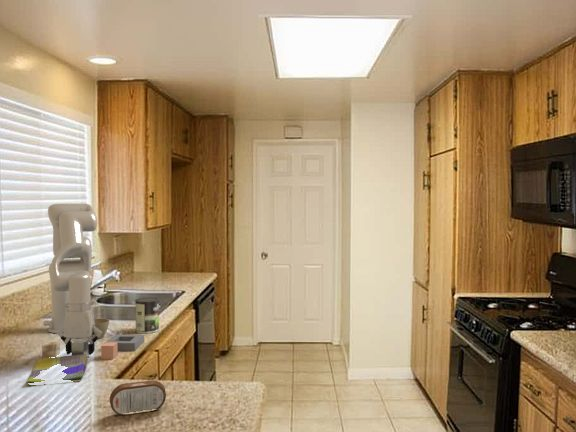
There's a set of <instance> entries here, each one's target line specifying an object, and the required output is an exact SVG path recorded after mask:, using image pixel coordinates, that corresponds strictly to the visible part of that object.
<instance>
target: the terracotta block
mask: <svg viewBox="0 0 576 432" xmlns="http://www.w3.org/2000/svg"><path fill="white" fill-rule="evenodd" d="M105 342H106V341H105ZM105 342H104V343H103V344H102V345H101V346H100V358H101V359H100V360H114V359H115V358H116V357H118V356H119V355H118V346H117V342H106V343H105Z"/></svg>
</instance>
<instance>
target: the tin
mask: <svg viewBox="0 0 576 432" xmlns="http://www.w3.org/2000/svg"><path fill="white" fill-rule="evenodd" d="M166 392H167V391H166V388H165V386H164V385H163V383H161V382H160V381H158V380H152V379H151V380H145V381H136V382H135V381H133V382H126V383H121V384H119V385H117V386H116V387H114V389H113V390H112V391H111V393H110V396H109V405H110V409H111V410H112V412H114V413H115V414H116V415H118V414H123V413H129V412H136V411H143V410H152V409H158V410H159V409H160V408H162V406H164V404H165V402H166V399H167V397H166V396H167V393H166Z"/></svg>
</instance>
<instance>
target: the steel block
mask: <svg viewBox="0 0 576 432" xmlns="http://www.w3.org/2000/svg"><path fill="white" fill-rule="evenodd" d="M71 342H72V353H71V355H81V354H83V355H86V357H88V356H89V354H88V345H89V344H90V342H89V341H88V339H74V341H71Z"/></svg>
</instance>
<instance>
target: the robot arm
mask: <svg viewBox="0 0 576 432" xmlns="http://www.w3.org/2000/svg"><path fill="white" fill-rule="evenodd" d="M47 216H48V219H49V221H50V224H51V225H52V253H53V258H52V260H51V263H50V264H49V265H48V273H49V279H50V280H49V281H50V290H51V291H50V292H51V295H50V296H51V298H50V299H51V303H50V304H51V319H50V320H44V321H43V326H45V327H46V326H48V328H47V331H48V332H49V333H50V334H51V333H52V334H57V335H58V336H59V338H60V339H61V341H62V342H63V343H64V345H65V352H66V356H70V354H72V342H73V341H72V339H78V340H85V339H86V340H88V341H89V345H88V354H89V355H93V354H94V352H95V351H96V350H95V347H96V346H95V344H96V342H97V341H98V340H100V339H99V337H100V336H101V334H102V331H100V330H99V329H98V328H96V327H95V323H94V319H95V316H94V312H93V309H91V285H92V282H93V278H92V256H93V255H92V252H93V248H92V247H93V246H92V245H93V244H92V241H91V240H90V238H89V237H87V236H84V232H94V231H96V230H97V228H98V218H97V214H96V212H95V210H94V208H93V207H92V205H91V204H89V203H53V204H51V205H49V206H48V209H47ZM95 333H97V335H96V336H95V337H94V336H93V335H94V334H95ZM89 355H88V356H89Z"/></svg>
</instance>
